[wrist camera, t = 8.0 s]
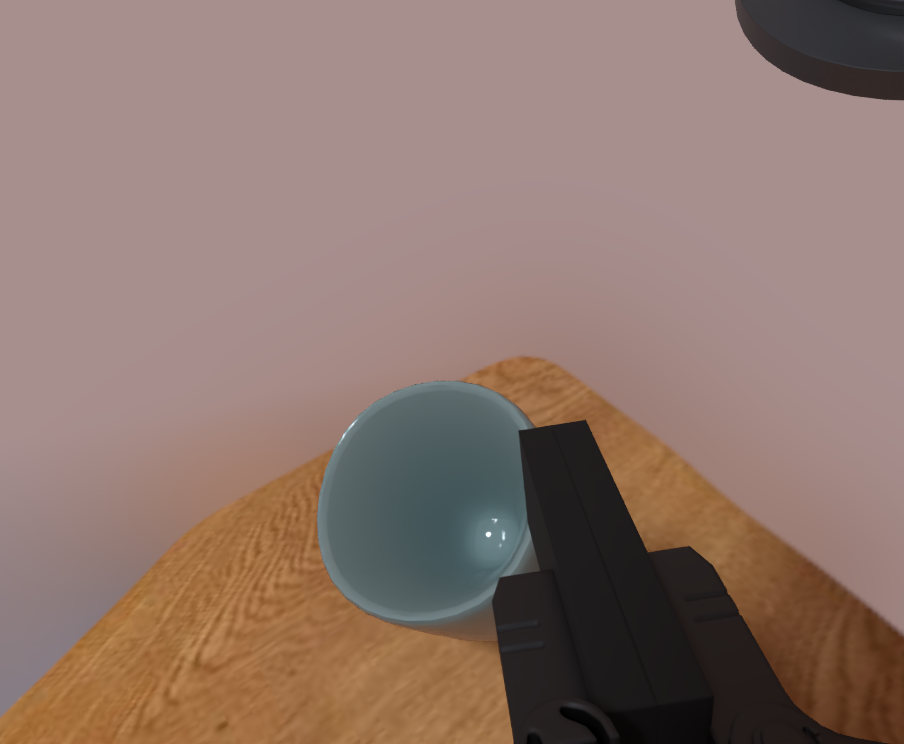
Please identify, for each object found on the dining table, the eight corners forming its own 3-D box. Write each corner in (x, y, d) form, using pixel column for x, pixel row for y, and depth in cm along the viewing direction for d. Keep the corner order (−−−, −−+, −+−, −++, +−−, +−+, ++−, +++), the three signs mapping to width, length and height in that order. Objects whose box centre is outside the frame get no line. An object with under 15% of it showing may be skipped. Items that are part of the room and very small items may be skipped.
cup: (609, 660, 25) (541, 638, 17) (426, 644, 28) (291, 618, 20) (608, 465, 28) (550, 366, 20) (444, 469, 31) (335, 384, 23)
